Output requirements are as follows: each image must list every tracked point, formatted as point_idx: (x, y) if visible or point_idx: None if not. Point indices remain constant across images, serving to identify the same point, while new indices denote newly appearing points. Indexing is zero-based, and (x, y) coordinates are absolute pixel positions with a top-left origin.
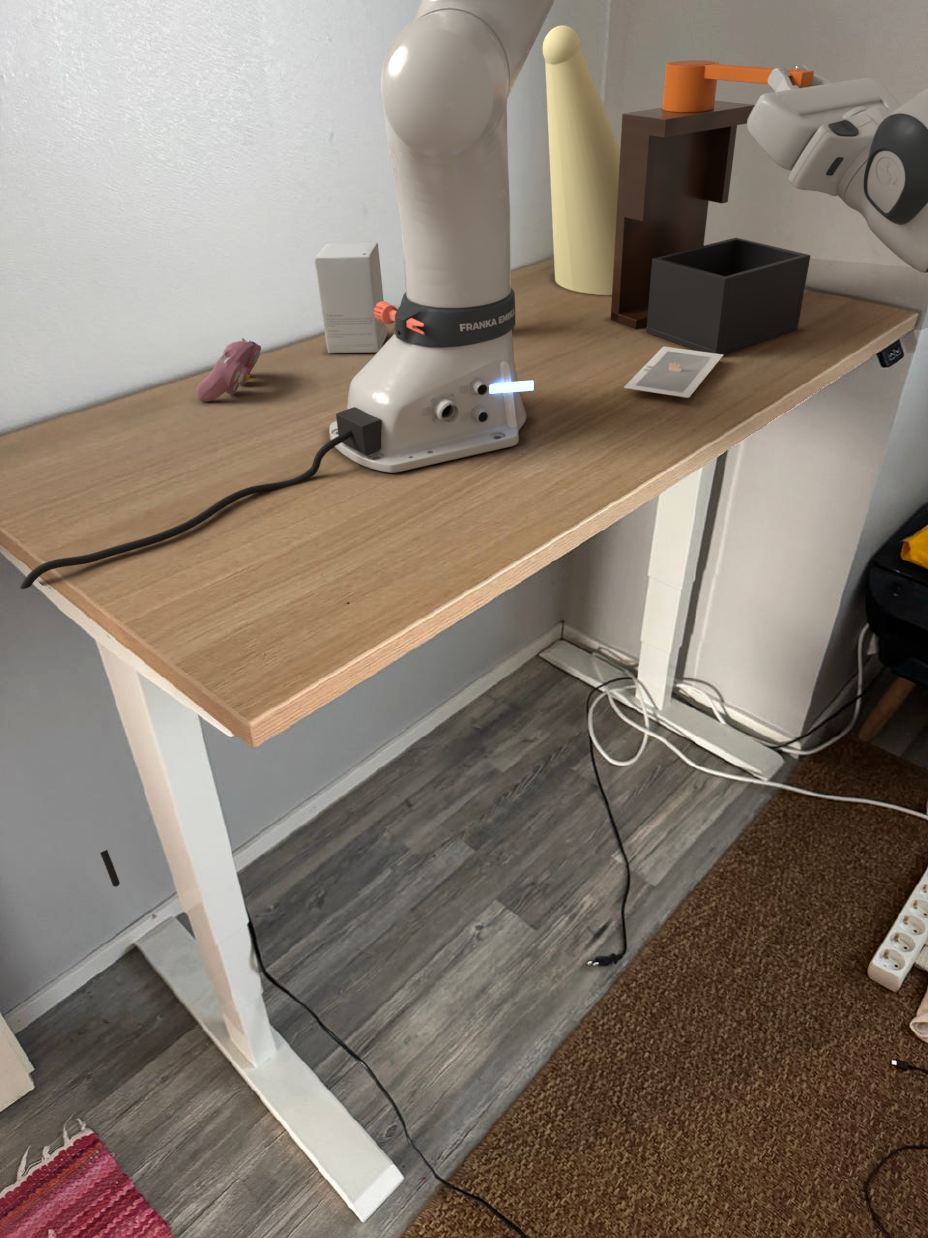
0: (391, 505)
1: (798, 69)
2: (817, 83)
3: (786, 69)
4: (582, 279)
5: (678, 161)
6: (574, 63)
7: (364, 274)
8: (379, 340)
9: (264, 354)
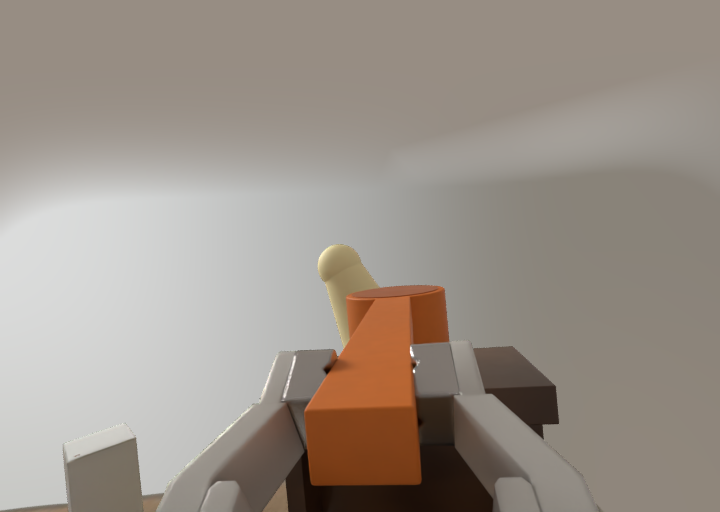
0: None
1: (413, 365)
2: (505, 470)
3: (325, 363)
4: None
5: (427, 449)
6: (338, 282)
7: (67, 478)
8: None
9: (66, 508)
